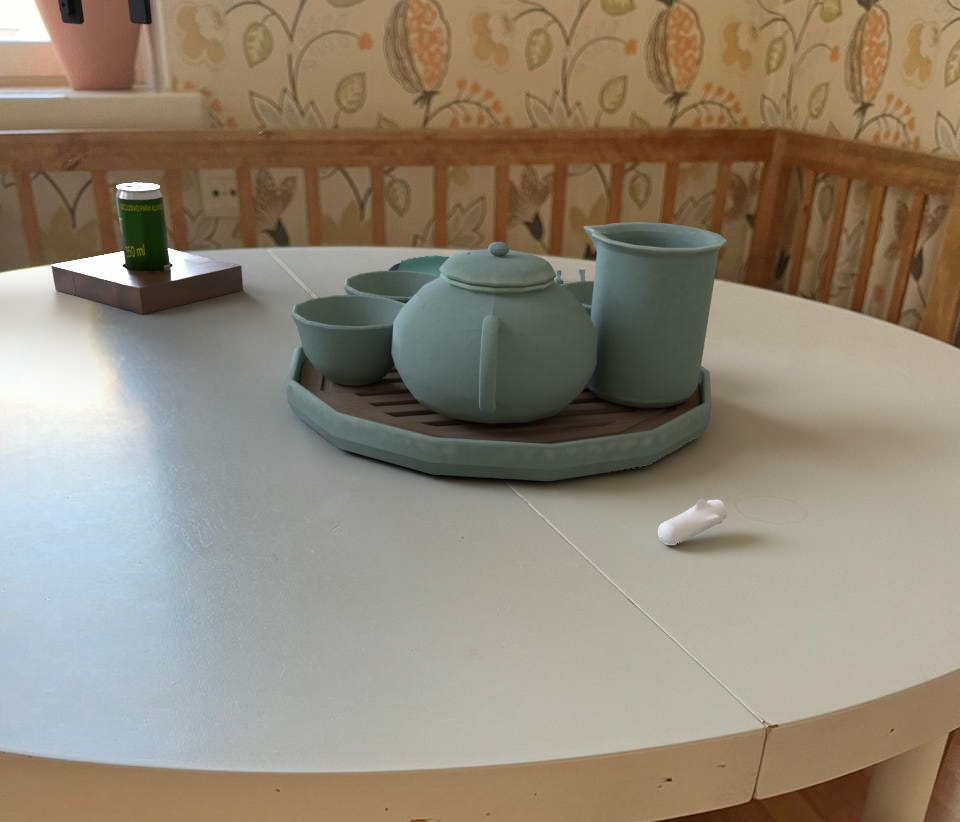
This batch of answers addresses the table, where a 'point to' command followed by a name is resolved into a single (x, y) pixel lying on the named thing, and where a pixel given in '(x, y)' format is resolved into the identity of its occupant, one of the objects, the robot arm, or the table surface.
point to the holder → (147, 281)
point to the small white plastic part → (692, 521)
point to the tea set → (516, 359)
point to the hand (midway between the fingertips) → (108, 23)
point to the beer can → (143, 227)
